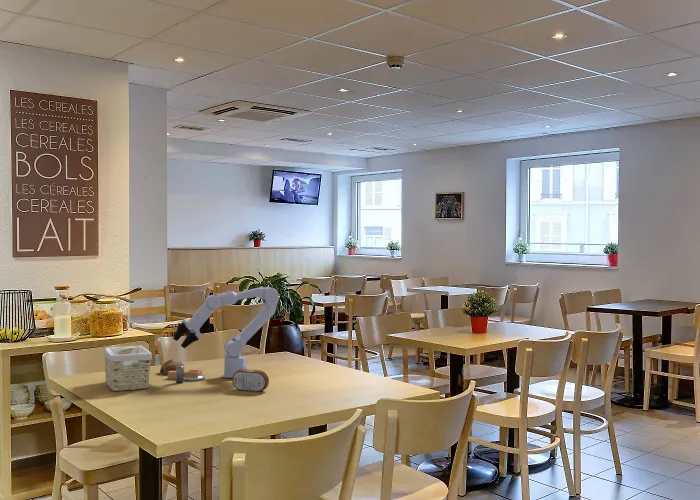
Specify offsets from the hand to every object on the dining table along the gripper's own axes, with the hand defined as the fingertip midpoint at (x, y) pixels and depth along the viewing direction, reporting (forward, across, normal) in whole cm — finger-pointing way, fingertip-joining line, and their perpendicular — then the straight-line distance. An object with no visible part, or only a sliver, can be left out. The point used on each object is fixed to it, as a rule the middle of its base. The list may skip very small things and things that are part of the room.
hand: (178, 343), depth 284 cm
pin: (+12, +11, +5) cm, 17 cm away
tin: (-4, +41, +11) cm, 43 cm away
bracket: (+10, +5, +11) cm, 16 cm away
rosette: (+8, +8, +12) cm, 17 cm away
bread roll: (+13, -10, +15) cm, 22 cm away
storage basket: (+25, +3, -9) cm, 27 cm away
